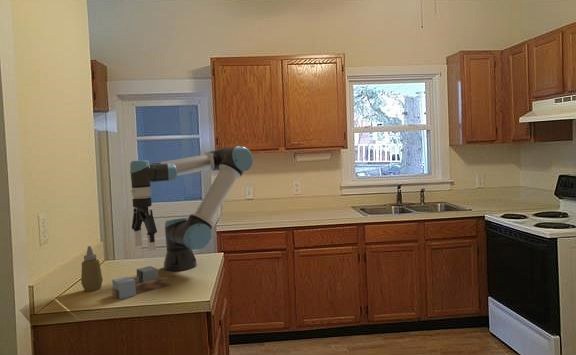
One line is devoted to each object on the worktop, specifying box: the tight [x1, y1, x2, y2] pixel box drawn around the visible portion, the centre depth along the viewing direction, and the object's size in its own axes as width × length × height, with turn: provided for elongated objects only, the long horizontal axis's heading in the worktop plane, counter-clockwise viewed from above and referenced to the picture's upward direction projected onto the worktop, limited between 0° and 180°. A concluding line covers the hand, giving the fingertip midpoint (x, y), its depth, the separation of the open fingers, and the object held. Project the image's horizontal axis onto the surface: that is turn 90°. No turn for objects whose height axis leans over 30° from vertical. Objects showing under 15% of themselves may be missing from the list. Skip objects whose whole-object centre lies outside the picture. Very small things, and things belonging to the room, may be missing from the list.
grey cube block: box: [136, 265, 159, 283], centre depth 192 cm, size 7×7×6 cm
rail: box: [111, 276, 171, 300], centre depth 180 cm, size 22×3×4 cm, turn 130°
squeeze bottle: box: [80, 245, 104, 293], centre depth 186 cm, size 8×8×18 cm
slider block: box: [112, 275, 137, 300], centre depth 175 cm, size 7×7×6 cm
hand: (145, 248), depth 192 cm, fingers open, 13 cm apart
